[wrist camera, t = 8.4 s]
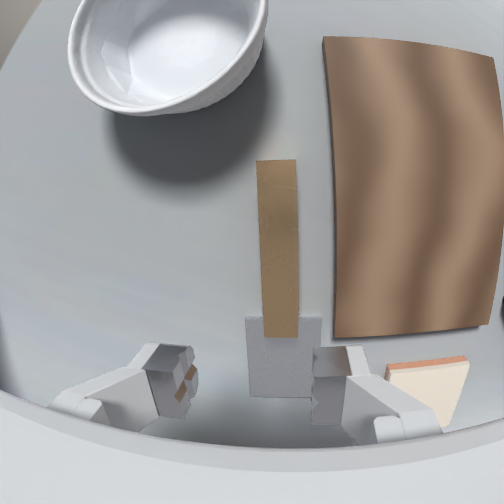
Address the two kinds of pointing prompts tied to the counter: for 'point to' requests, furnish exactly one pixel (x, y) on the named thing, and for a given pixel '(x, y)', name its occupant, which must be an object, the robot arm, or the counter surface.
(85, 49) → the ramekin
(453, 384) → the tile
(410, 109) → the board
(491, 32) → the counter surface
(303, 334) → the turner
